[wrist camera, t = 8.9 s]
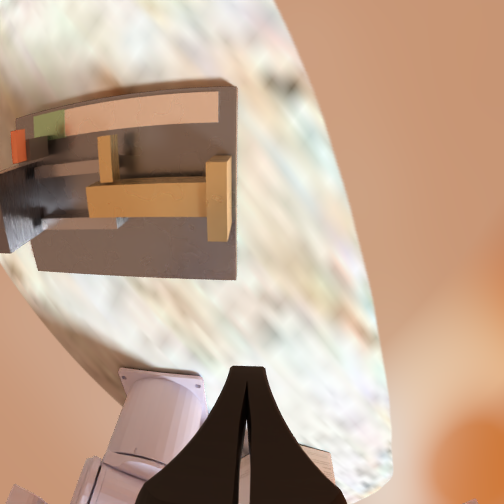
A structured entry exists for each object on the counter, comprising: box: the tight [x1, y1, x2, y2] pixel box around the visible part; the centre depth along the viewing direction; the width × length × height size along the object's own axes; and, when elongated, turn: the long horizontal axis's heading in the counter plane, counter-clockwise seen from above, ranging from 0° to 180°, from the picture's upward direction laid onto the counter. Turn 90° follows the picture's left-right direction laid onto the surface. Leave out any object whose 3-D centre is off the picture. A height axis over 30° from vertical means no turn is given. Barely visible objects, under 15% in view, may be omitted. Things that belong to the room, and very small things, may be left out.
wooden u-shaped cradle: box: [86, 134, 232, 242], centre depth 16 cm, size 6×8×3 cm
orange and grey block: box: [11, 129, 49, 164], centre depth 15 cm, size 2×1×3 cm, turn 179°
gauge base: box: [0, 87, 238, 280], centre depth 17 cm, size 12×16×5 cm
